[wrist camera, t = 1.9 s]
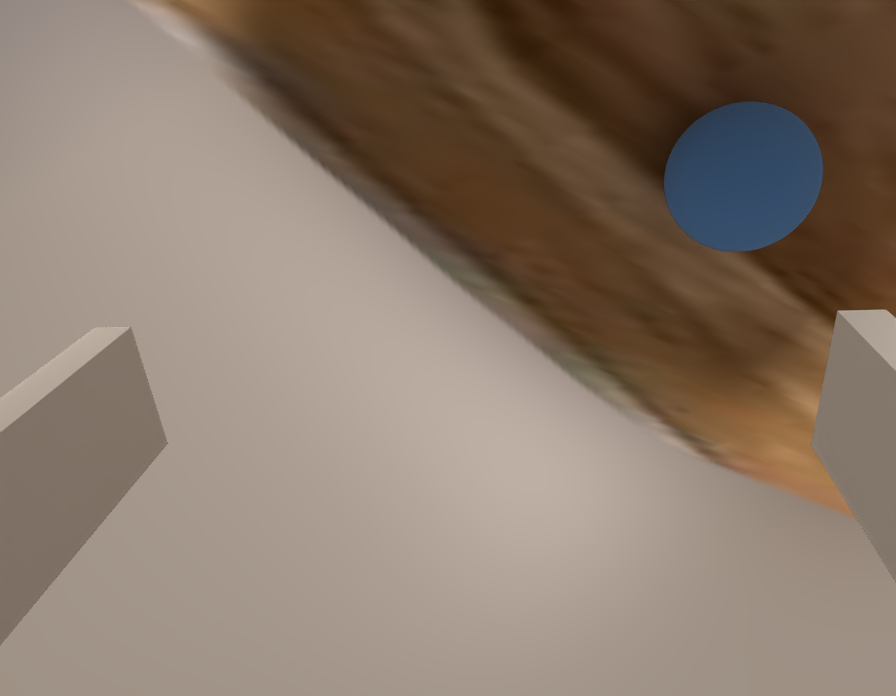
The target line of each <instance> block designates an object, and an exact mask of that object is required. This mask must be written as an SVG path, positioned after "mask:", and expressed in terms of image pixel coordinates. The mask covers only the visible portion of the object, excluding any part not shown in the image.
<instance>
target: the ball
mask: <svg viewBox="0 0 896 696" xmlns="http://www.w3.org/2000/svg"><path fill="white" fill-rule="evenodd" d="M822 179H823V161H822V154H821V151H820V147H819V145H818V142H817V140H816V138H815V136H814V135H813V133H812V132H811V130H810V129H809V127H808V126H807V125H806V124H805V123H804V122H803V121H802V120H801V119H800V118H798V117H797V116H796V115H795V114H793V113H792V112H790V111H788V110H786V109H785V108H782V107H780V106H777V105H774V104H769V103H765V102H756V101H746V102H737V103H732V104H728V105H725V106H722V107H719V108H717V109H715V110H712V111H710V112H708V113H707V114H705V115H703V116H702V117H700V118H699V119H698V120H696V121H695V122H694V123H693V124H692V125H691V126H690V127H689V128H687V129H686V130H685V132H684V133H683V134H682V135H681V137H680V138H679V139H678V141H677V142H676V144H675V146H674V147H673V149H672V151H671V153H670V156H669V159H668V162H667V165H666V170H665V176H664V193H665V198H666V202H667V205H668V208H669V211H670V213H671V215H672V217H673V219H674V220H675V222H676V223H677V224H678V226H679V227H680V228H681V229H682V230H683V231H684V232H685V233H686V234H687V235H688V236H689V237H691V238H692V239H694V240H695V241H697V242H699V243H701V244H702V245H705V246H707V247H710V248H713V249H716V250H721V251H728V252H744V251H751V250H756V249H760V248H763V247H766V246H768V245H771V244H773V243H775V242H777V241H779V240H781V239H782V238H784V237H785V236H787V235H788V234H790V233H791V232H792V231H793V230H794V229H796V228H797V227H798V226H799V225H800V224H801V223H802V221H803V220H804V219H805V218H806V216H807V215H808V214H809V212H810V211H811V209H812V208H813V206H814V204H815V202H816V200H817V198H818V195H819V192H820V189H821V185H822Z"/></svg>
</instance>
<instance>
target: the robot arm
mask: <svg viewBox="0 0 896 696" xmlns="http://www.w3.org/2000/svg"><path fill="white" fill-rule="evenodd" d="M167 444H168V443H167V440H166V436H165V433H164V430H163V427H162V424H161V421H160V417H159V414H158V411H157V408H156V405H155V402H154V398H153V395H152V392H151V389H150V386H149V383H148V379H147V376H146V373H145V370H144V367H143V364H142V360H141V357H140V354H139V351H138V348H137V345H136V341H135V338H134V335H133V332H132V329H131V327H105V328H104V327H103V328H94V329H93V330H91V331H90V332H89V333H87V334H86V335H84V336H83V337H82V338H80V339H79V340H78V341H76V342H75V343H74V344H72V345H71V346H70V347H68V348H67V349H66V350H64V351H63V352H62V353H60V354H59V355H58V356H56V357H55V358H54V359H52V360H51V361H50V362H49V363H47V364H46V365H44V366H43V367H42V368H40V369H39V370H37V371H36V372H35V373H34V374H32V375H31V376H30V377H28V378H27V379H26V380H24V381H23V382H21V383H20V384H19V385H17V386H16V387H15V388H13V389H12V390H11V391H9V392H8V393H7V394H5V395H4V396H3V397H1V398H0V645H1V644H2V643H3V641H4V640H5V639H6V638H7V637H8V635H9V634H10V633H11V632H12V631H13V629H14V628H15V627H16V626H17V624H18V623H19V622H20V621H21V620H22V619H23V617H24V616H25V615H26V614H27V613H28V611H29V610H30V609H31V608H32V607H33V605H34V604H35V603H36V601H38V599H39V598H40V597H41V596H42V594H43V593H44V592H45V591H46V590H47V588H48V587H49V586H50V585H51V584H52V582H53V581H54V580H55V579H56V578H57V576H58V575H59V574H60V573H61V572H62V570H63V569H64V568H65V567H66V566H67V564H68V563H69V562H70V561H71V560H72V558H73V557H74V556H75V555H76V553H77V552H78V551H79V550H80V549H81V547H82V546H83V545H84V544H85V543H86V541H87V540H88V539H89V537H91V535H92V534H93V533H94V532H95V531H96V529H97V528H98V527H99V526H100V524H101V523H102V522H103V521H104V520H105V519H106V517H107V516H108V515H109V513H110V512H111V511H112V510H113V509H114V508H115V506H116V505H117V504H118V503H119V502H120V500H121V499H122V498H123V497H124V496H125V494H126V493H127V492H128V491H129V489H130V488H131V487H132V486H133V485H134V483H135V482H136V481H137V480H138V479H139V478H140V476H141V475H142V474H143V473H144V472H145V470H146V469H147V468H148V466H149V465H150V464H151V463H152V462H153V461H154V459H155V458H156V457H157V456H158V455H159V453H160V452H161V451H162V450H163V449H164V447H165V446H166V445H167ZM811 446H812V447H813V449H814V451H815V452H816V454H817V455H818V457H819V459H820V460H821V462H822V464H823V465H824V467H825V468H826V470H827V472H828V473H829V475H830V477H831V478H832V480H833V481H834V483H835V485H836V486H837V488H838V490H839V491H840V493H841V494H842V496H843V498H844V499H845V501H846V503H847V504H848V506H849V507H850V509H851V511H852V512H853V514H854V516H855V517H856V519H857V520H858V522H859V524H860V525H861V527H862V529H863V530H864V532H865V533H866V535H867V536H868V538H869V540H870V541H871V543H872V545H873V546H874V548H875V549H876V551H877V553H878V554H879V556H880V558H881V559H882V561H883V563H884V564H885V566H886V567H887V569H888V571H889V572H890V574H891V575H892V577H893V579H894V580H895V582H896V318H895V317H894V316H893V315H892V314H891V313H889V312H888V311H887V310H846V311H837V315H836V320H835V325H834V331H833V336H832V341H831V346H830V351H829V356H828V361H827V366H826V371H825V377H824V382H823V387H822V392H821V397H820V402H819V407H818V412H817V417H816V423H815V428H814V433H813V438H812V443H811Z"/></svg>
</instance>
